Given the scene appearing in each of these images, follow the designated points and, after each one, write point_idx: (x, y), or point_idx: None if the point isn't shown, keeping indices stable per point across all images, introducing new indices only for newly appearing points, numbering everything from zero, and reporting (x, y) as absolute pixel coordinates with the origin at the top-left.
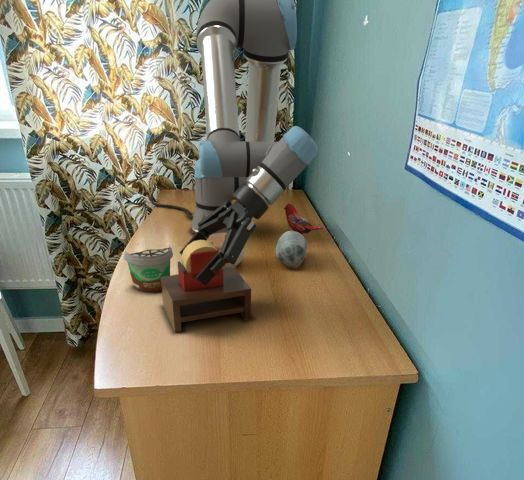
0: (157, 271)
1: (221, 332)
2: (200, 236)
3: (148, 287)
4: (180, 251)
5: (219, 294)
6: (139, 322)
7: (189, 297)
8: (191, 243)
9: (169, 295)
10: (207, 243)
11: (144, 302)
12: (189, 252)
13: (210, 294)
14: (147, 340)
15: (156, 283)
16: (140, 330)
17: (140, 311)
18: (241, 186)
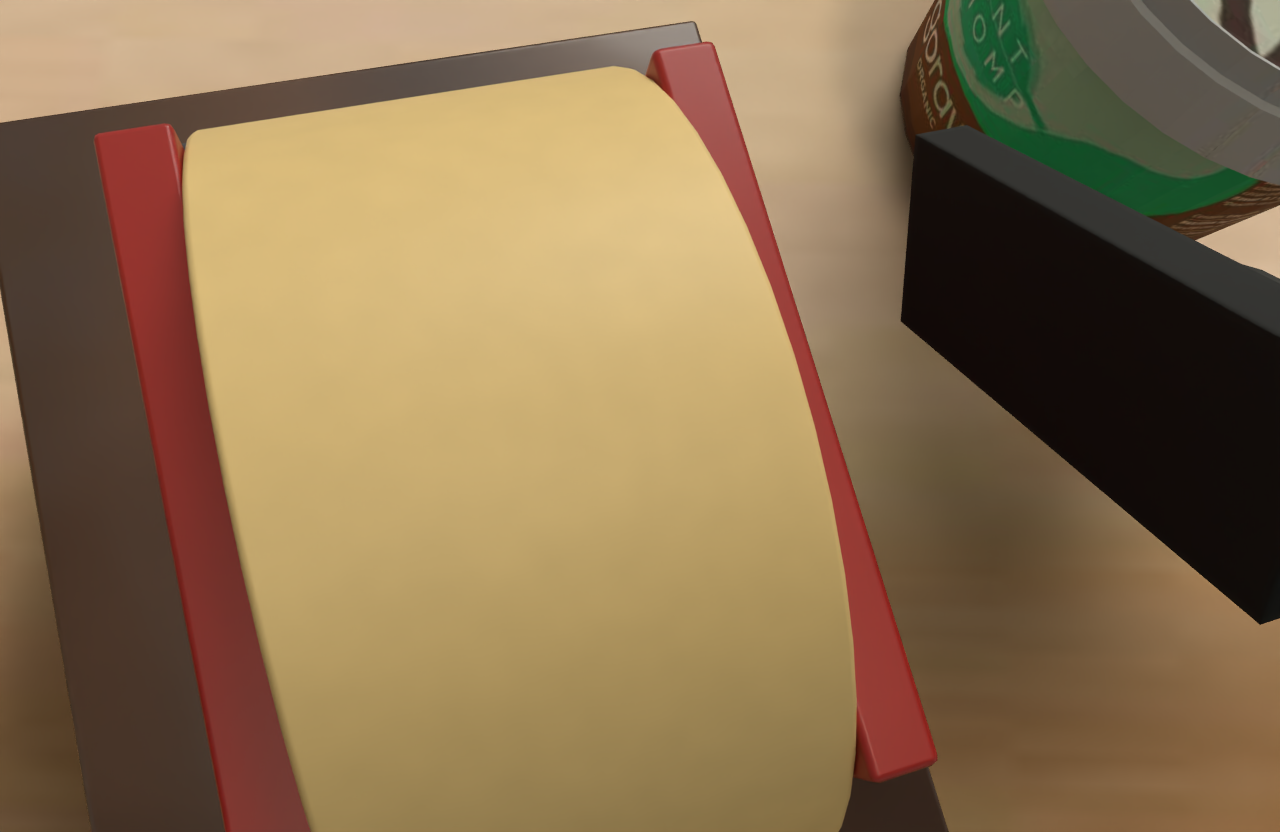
0: (1019, 60)
1: (38, 776)
2: (1263, 443)
3: (919, 61)
4: (972, 133)
5: (93, 807)
6: (358, 5)
7: (34, 350)
8: (657, 157)
9: (159, 101)
10: (578, 603)
11: (717, 51)
12: (305, 131)
13: (74, 661)
14: (24, 62)
15: (950, 115)
16: (214, 10)
17: (555, 16)
18: None
